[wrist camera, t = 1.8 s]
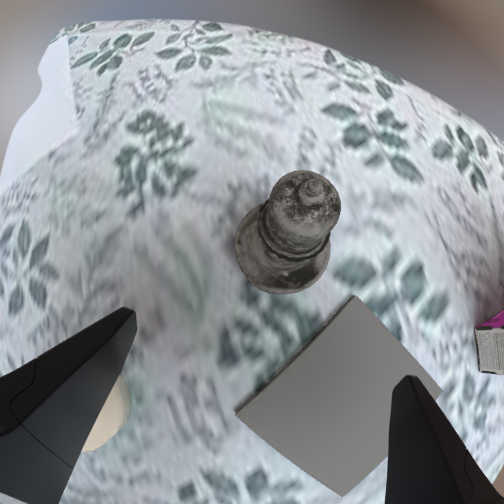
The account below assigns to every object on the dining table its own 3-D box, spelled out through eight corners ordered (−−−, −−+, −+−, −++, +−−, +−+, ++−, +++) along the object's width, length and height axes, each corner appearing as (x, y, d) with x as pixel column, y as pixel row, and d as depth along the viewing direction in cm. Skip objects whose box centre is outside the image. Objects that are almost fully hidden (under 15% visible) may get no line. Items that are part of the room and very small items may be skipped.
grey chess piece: (260, 205, 22) (276, 94, 10) (329, 241, 22) (409, 163, 10) (220, 273, 21) (193, 214, 9) (294, 313, 20) (359, 303, 9)
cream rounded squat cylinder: (98, 448, 17) (76, 466, 13) (46, 383, 18) (18, 389, 14) (149, 405, 19) (131, 421, 15) (90, 334, 20) (63, 336, 16)
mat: (340, 493, 17) (342, 496, 16) (235, 412, 19) (235, 415, 18) (438, 389, 19) (442, 390, 18) (353, 295, 21) (356, 295, 20)
